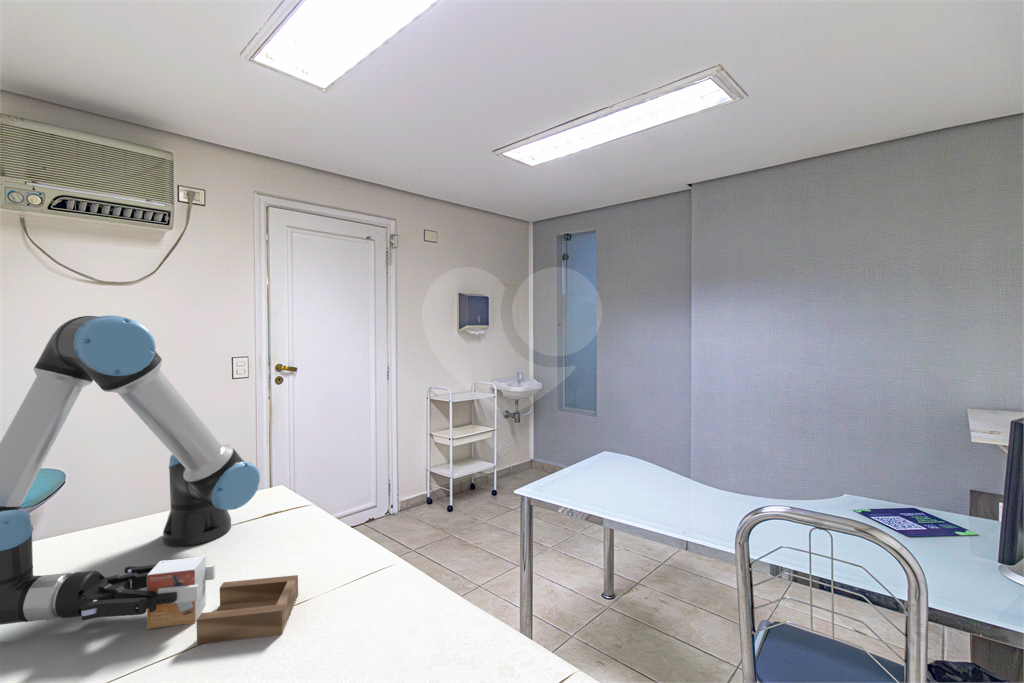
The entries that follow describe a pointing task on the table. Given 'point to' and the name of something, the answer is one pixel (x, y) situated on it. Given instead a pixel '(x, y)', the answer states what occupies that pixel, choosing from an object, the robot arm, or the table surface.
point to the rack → (249, 610)
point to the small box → (173, 576)
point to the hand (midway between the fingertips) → (206, 581)
